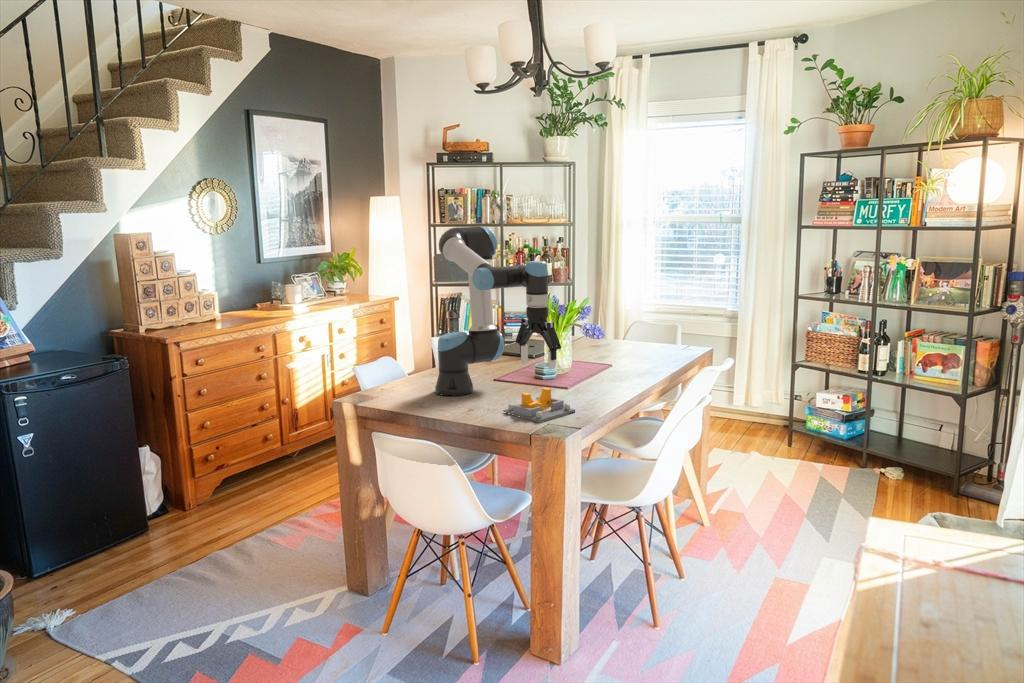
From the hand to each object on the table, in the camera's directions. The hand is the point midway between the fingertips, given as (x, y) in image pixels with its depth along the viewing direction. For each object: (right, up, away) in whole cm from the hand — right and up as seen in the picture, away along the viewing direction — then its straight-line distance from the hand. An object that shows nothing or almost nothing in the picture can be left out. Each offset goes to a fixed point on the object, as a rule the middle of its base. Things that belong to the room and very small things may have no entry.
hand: (538, 366), depth 255 cm
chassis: (+1, -17, +2) cm, 17 cm away
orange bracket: (0, -16, +3) cm, 16 cm away
